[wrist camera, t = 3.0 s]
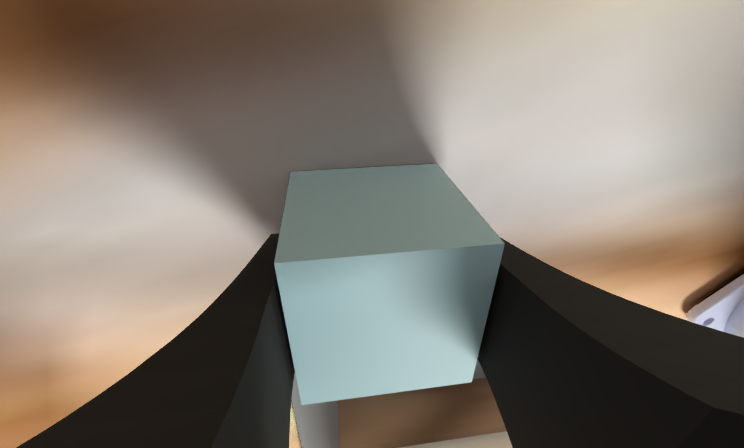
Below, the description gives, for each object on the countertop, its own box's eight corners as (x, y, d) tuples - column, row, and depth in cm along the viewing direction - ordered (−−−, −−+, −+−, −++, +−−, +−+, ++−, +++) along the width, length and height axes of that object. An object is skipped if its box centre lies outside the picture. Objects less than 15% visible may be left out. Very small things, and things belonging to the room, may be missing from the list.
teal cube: (436, 163, 10) (505, 243, 7) (425, 275, 13) (471, 382, 9) (290, 171, 10) (273, 263, 6) (306, 286, 12) (301, 405, 8)
